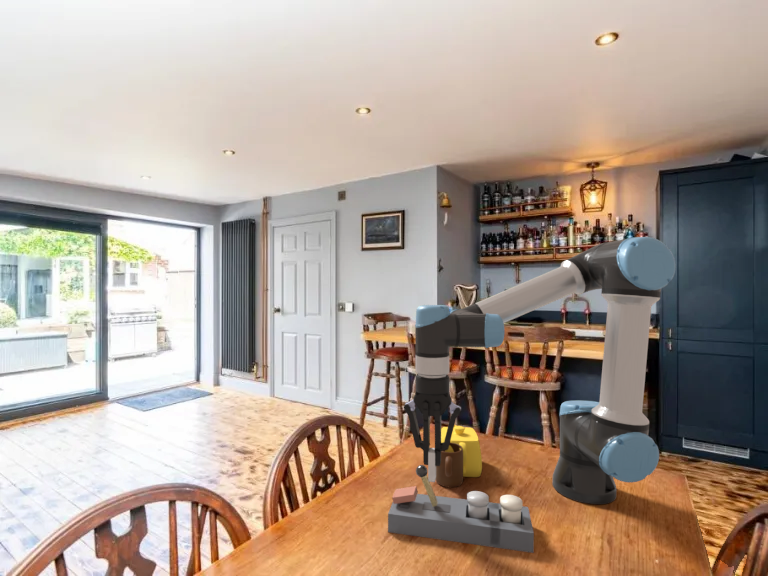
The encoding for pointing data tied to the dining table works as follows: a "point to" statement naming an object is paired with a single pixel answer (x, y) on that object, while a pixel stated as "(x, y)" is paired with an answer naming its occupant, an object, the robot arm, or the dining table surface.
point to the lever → (426, 483)
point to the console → (460, 523)
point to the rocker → (405, 495)
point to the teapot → (466, 449)
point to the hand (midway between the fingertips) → (432, 478)
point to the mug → (450, 467)
